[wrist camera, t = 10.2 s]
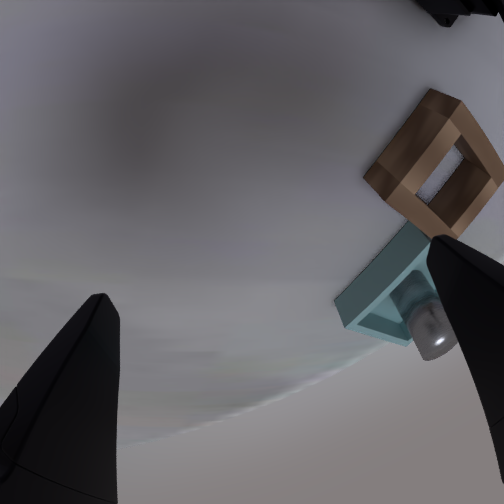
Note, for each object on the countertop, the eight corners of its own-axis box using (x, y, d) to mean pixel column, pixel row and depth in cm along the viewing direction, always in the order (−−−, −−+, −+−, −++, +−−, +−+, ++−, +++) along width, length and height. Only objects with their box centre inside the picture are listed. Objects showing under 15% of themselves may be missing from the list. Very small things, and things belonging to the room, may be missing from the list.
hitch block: (430, 88, 17) (461, 100, 14) (482, 155, 20) (508, 173, 17) (363, 177, 21) (384, 201, 18) (425, 227, 24) (446, 251, 21)
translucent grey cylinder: (410, 264, 26) (450, 327, 20) (430, 277, 27) (467, 334, 21) (381, 294, 27) (414, 358, 22) (403, 304, 29) (435, 362, 23)
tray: (410, 218, 23) (430, 242, 21) (459, 261, 28) (475, 282, 25) (334, 301, 28) (344, 328, 26) (395, 324, 33) (406, 346, 30)
